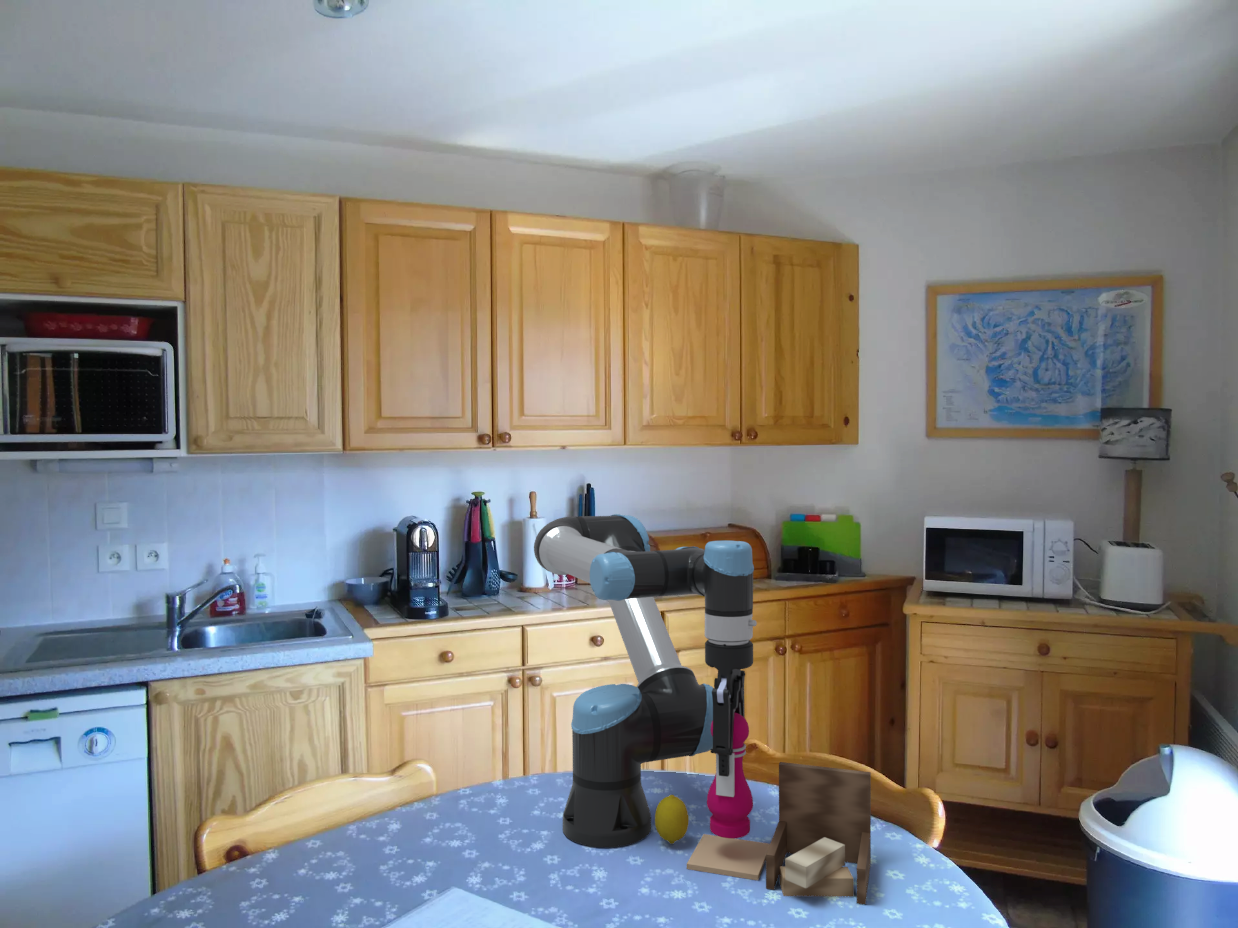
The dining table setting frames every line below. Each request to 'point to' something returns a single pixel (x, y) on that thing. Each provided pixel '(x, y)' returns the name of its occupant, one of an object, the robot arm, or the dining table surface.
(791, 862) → the offcut top
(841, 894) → the offcut bottom
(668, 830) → the lemon
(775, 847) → the rack
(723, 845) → the cork mat
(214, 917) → the dining table surface
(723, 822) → the pepper mill
